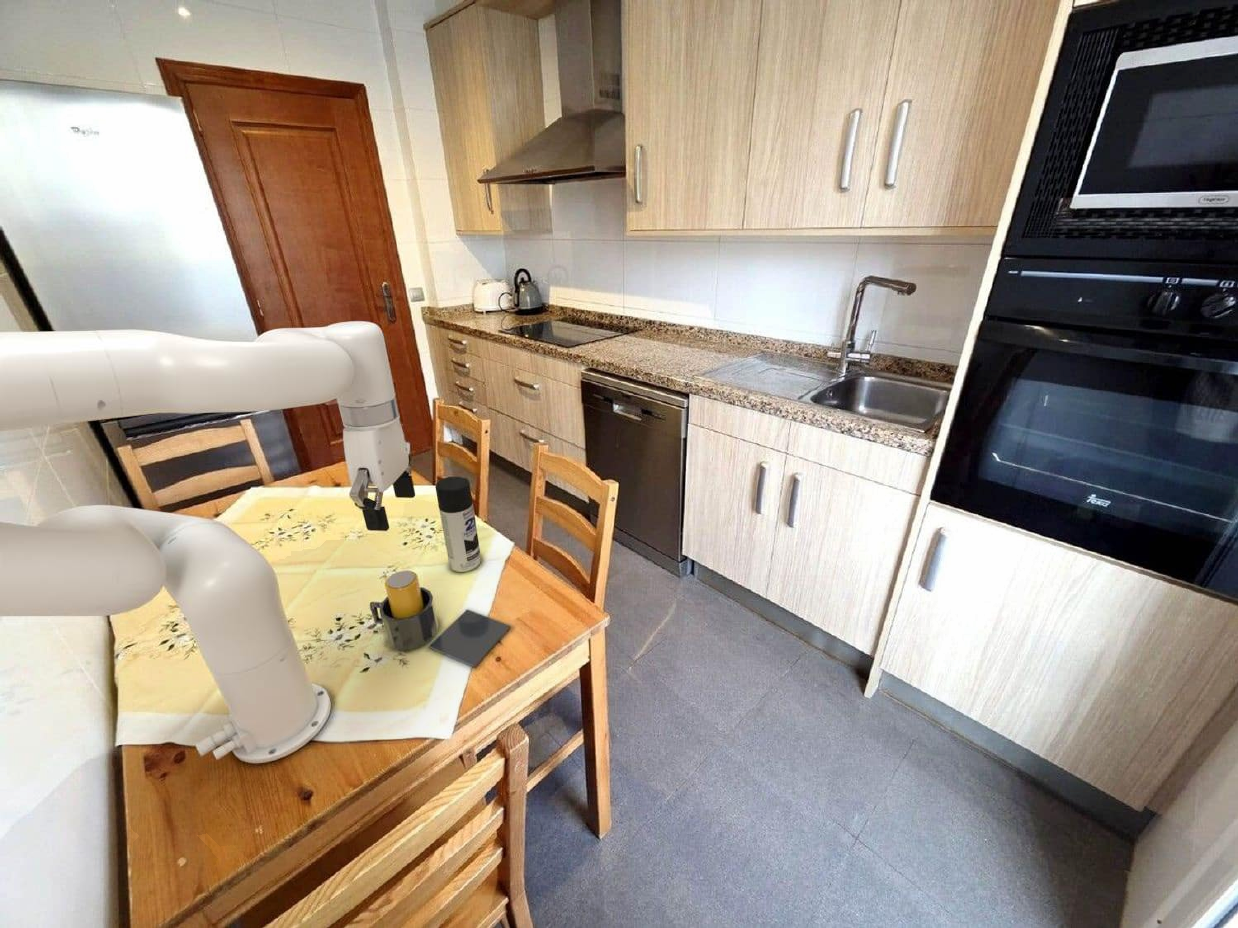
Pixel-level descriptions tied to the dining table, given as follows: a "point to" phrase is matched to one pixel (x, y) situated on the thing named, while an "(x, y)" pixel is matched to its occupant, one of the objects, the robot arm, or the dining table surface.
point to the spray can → (458, 523)
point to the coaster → (470, 638)
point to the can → (404, 594)
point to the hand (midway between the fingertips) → (392, 512)
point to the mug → (408, 624)
